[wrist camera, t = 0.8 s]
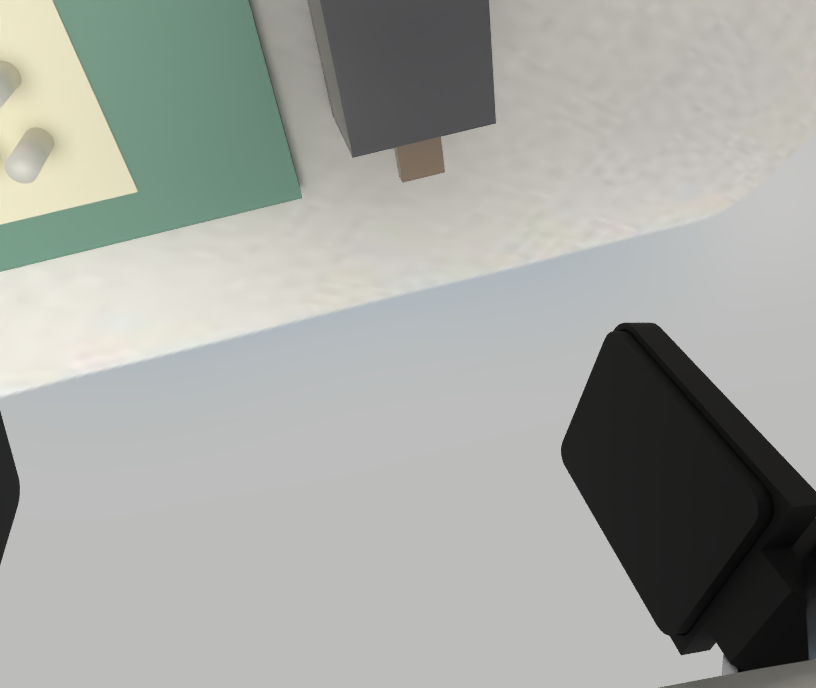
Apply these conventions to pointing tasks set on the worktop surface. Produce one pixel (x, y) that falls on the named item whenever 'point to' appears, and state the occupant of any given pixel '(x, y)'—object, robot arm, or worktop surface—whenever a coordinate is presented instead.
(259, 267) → the worktop surface
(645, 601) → the robot arm
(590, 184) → the worktop surface
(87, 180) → the header board
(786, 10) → the worktop surface
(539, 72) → the worktop surface
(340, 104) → the block
